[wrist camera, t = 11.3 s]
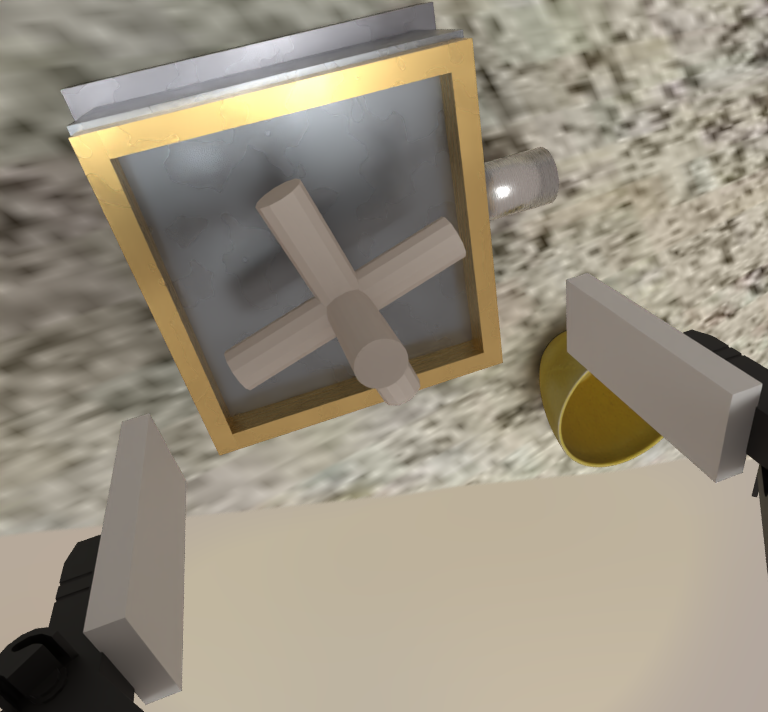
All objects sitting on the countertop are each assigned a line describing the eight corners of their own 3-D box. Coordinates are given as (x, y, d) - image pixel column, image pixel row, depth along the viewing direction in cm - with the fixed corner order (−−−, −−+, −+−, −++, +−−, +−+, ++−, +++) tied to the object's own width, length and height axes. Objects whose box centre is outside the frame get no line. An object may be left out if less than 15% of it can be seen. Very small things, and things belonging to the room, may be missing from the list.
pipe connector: (362, 104, 24) (456, 136, 15) (452, 289, 29) (557, 387, 21) (160, 230, 24) (142, 332, 15) (287, 391, 29) (326, 531, 21)
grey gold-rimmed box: (67, 87, 27) (13, 109, 19) (494, -14, 29) (593, -29, 22) (204, 387, 36) (204, 481, 29) (516, 290, 39) (590, 352, 32)
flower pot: (525, 296, 40) (582, 343, 34) (645, 294, 42) (716, 338, 36) (497, 414, 44) (543, 474, 38) (606, 405, 47) (664, 460, 41)
